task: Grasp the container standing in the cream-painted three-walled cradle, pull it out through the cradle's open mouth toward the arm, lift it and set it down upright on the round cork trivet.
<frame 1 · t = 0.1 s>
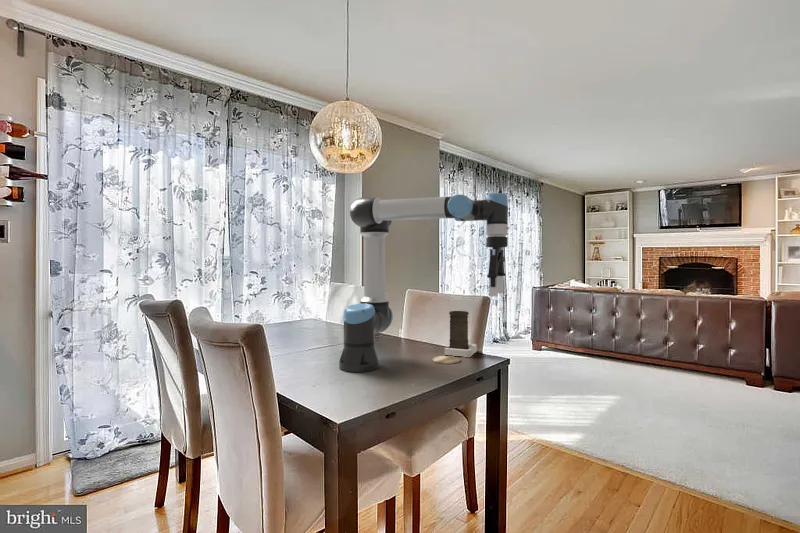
hand: (496, 294, 153), 28 cm above the table, fingers open, 13 cm apart
trivet: (446, 360, 169), on the table
cradle: (461, 353, 182), on the table
container: (458, 353, 183), on the table
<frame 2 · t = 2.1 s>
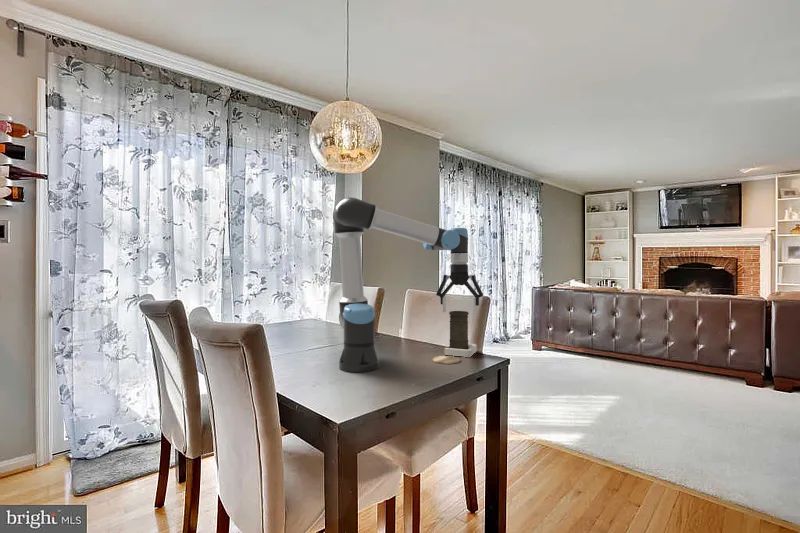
hand: (459, 312, 183), 18 cm above the table, fingers open, 13 cm apart
nothing on the table moved.
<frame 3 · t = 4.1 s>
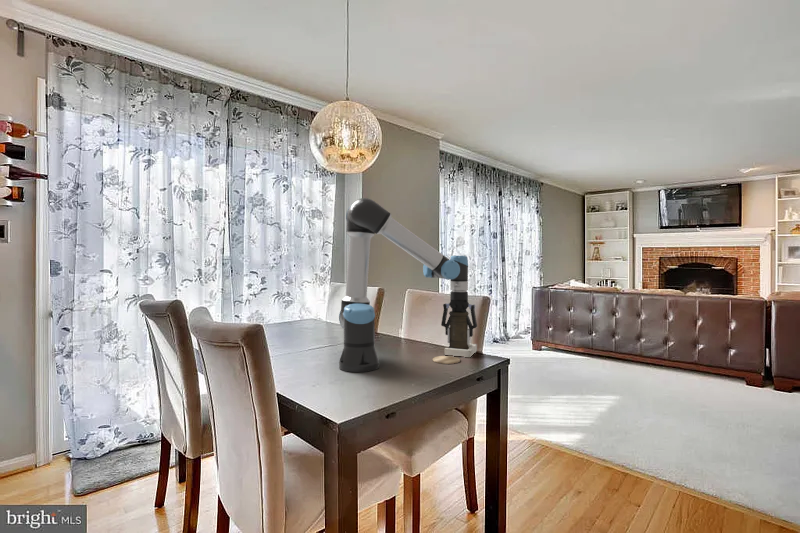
hand: (458, 343, 183), 4 cm above the table, fingers closed on container, 8 cm apart
container: (458, 353, 183), on the table, touching gripper
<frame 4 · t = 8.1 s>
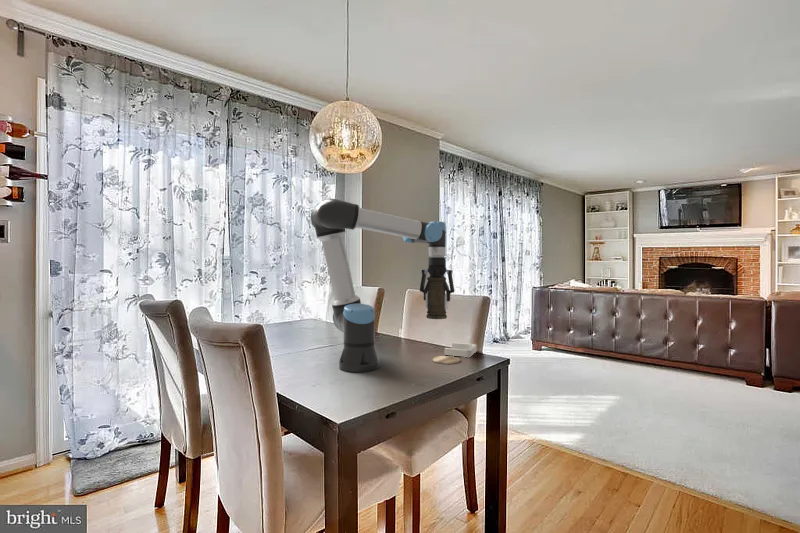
hand: (436, 308, 186), 19 cm above the table, fingers closed on container, 8 cm apart
container: (436, 318, 186), point 15 cm above the table, touching gripper
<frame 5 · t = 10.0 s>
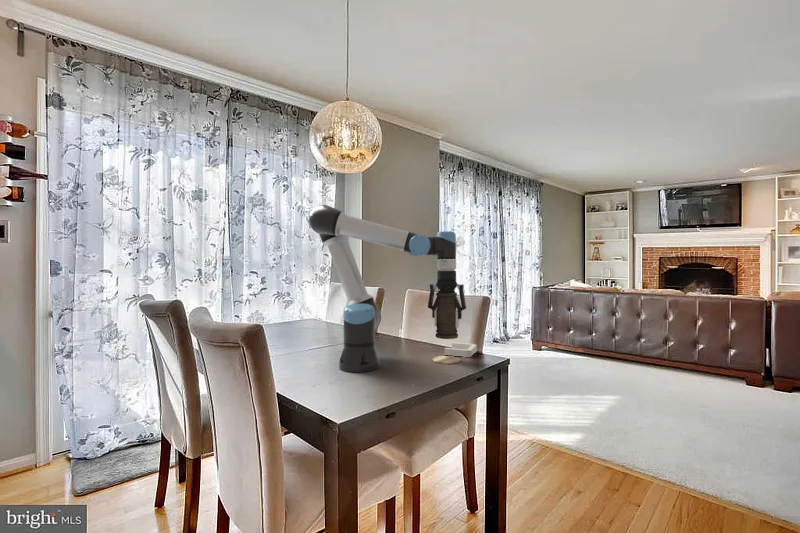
hand: (446, 326, 169), 14 cm above the table, fingers closed on container, 8 cm apart
container: (446, 337, 169), point 9 cm above the table, touching gripper
when the fingers open (6 cm above the table, at t = 11.9 s): container drops 1 cm, resting on trivet.
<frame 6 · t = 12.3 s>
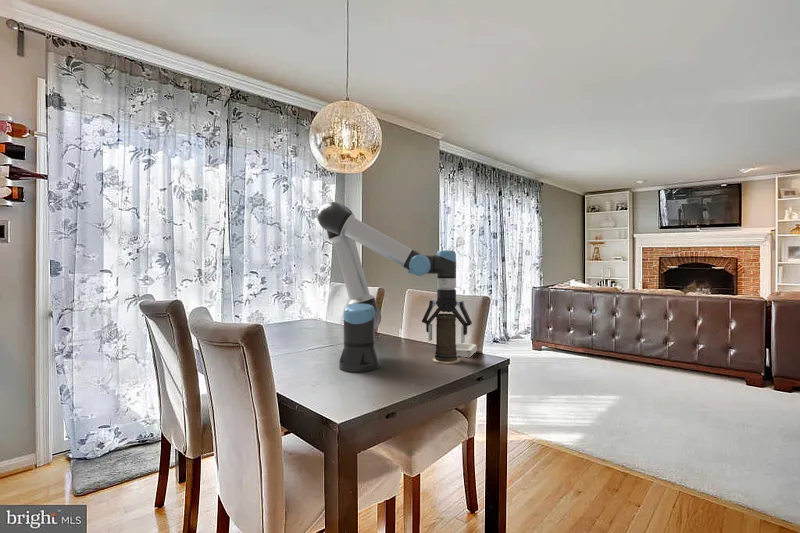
hand: (446, 341, 169), 8 cm above the table, fingers open, 13 cm apart
container: (446, 359, 169), resting on trivet
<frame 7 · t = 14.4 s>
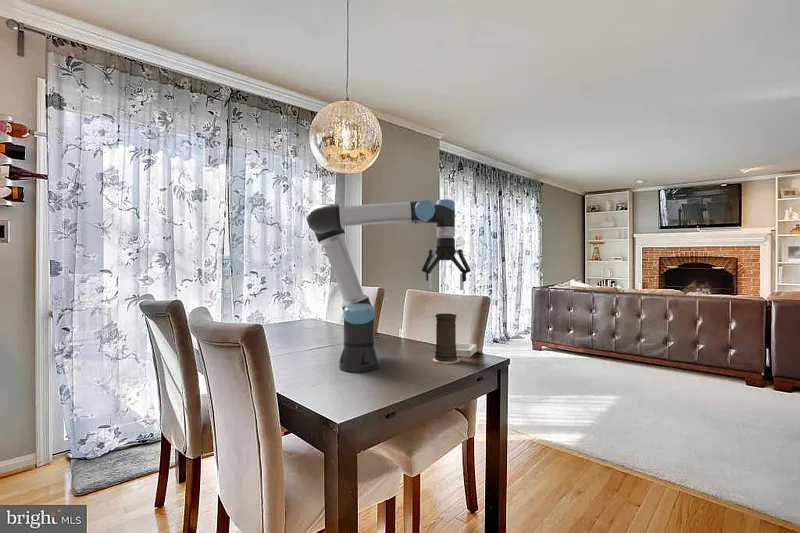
hand: (445, 289, 173), 28 cm above the table, fingers open, 13 cm apart
nothing on the table moved.
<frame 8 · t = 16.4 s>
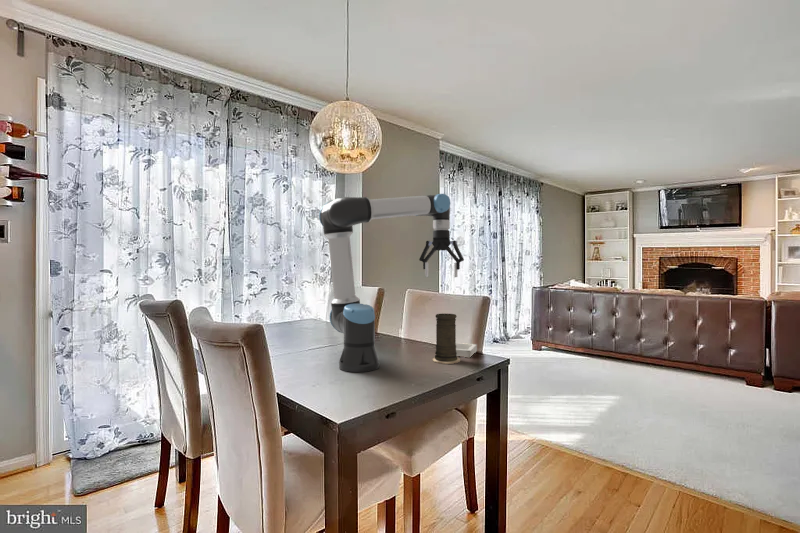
hand: (441, 277, 190), 33 cm above the table, fingers open, 13 cm apart
nothing on the table moved.
at the end: container inside the target area on the trivet (0.2 cm from its centre), point 0.4 cm above the trivet's base; container tilted 0°; the gripper is holding nothing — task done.
